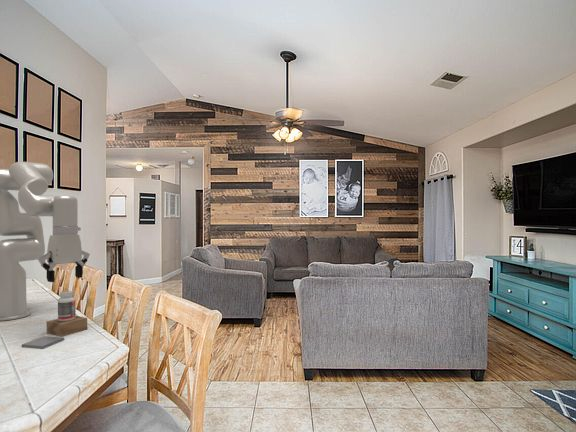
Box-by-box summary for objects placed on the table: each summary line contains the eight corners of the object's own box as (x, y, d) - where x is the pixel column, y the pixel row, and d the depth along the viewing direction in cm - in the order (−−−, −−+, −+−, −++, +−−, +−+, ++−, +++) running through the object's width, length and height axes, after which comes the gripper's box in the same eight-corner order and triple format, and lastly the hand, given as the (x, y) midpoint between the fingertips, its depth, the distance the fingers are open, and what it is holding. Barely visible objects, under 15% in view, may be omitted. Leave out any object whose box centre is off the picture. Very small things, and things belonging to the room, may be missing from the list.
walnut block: (46, 332, 128) (46, 321, 128) (72, 325, 136) (72, 315, 136) (61, 336, 124) (61, 324, 124) (87, 329, 132) (87, 317, 132)
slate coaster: (21, 346, 114) (21, 344, 114) (44, 338, 122) (44, 336, 122) (42, 348, 112) (42, 346, 112) (64, 340, 120) (64, 337, 120)
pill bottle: (76, 320, 129) (75, 292, 129) (58, 322, 126) (57, 294, 126) (75, 316, 134) (74, 289, 134) (57, 319, 131) (57, 291, 131)
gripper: (82, 229, 139) (82, 274, 139) (32, 231, 124) (32, 282, 124) (95, 230, 136) (95, 276, 136) (45, 232, 120) (45, 284, 121)
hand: (65, 279), depth 130 cm, fingers open, 9 cm apart
